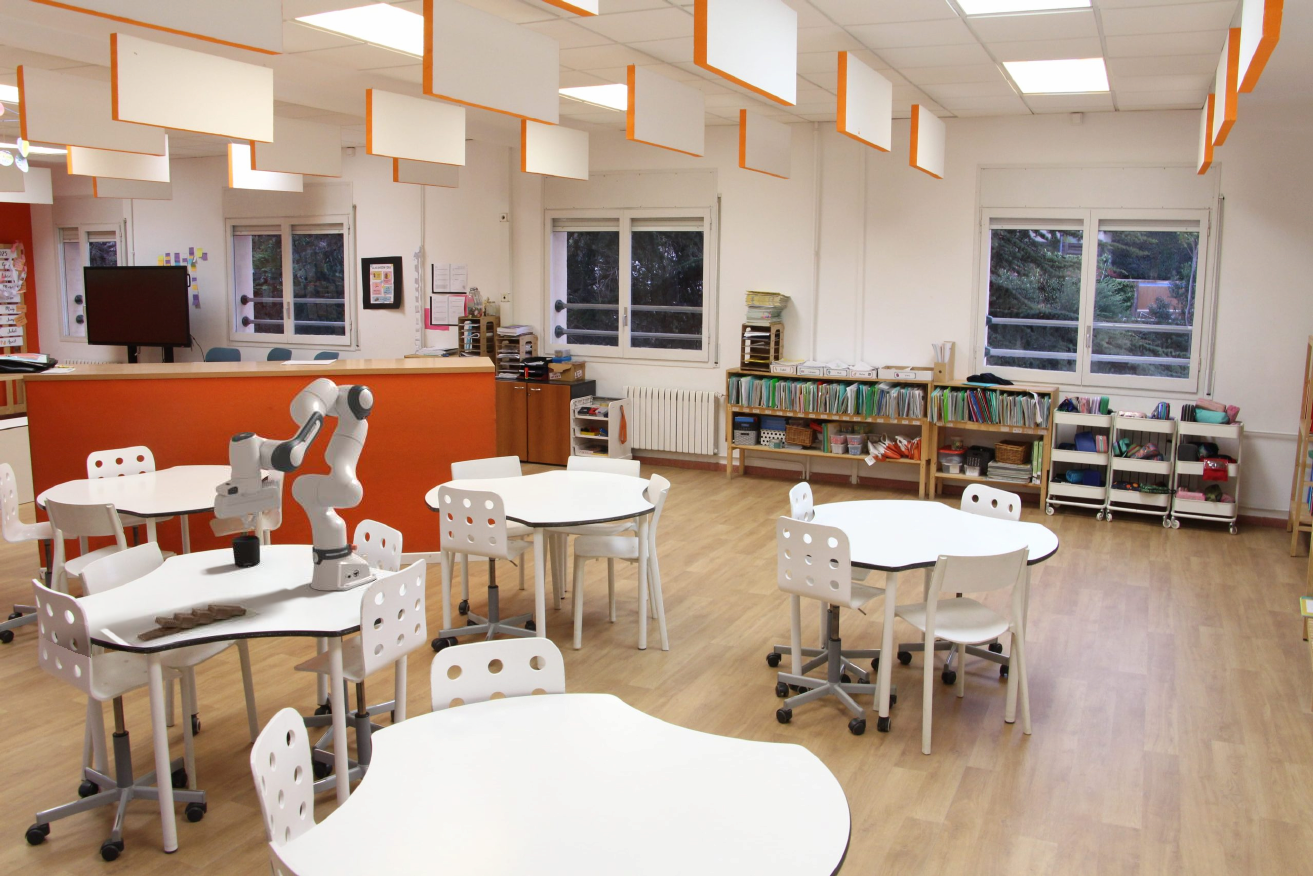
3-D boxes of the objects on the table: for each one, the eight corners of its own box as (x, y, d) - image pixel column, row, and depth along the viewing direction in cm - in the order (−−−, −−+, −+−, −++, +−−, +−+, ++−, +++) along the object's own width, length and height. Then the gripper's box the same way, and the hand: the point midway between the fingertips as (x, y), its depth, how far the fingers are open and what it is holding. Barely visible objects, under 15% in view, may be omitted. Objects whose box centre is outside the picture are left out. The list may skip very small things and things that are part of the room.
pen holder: (228, 567, 357) (226, 541, 356) (244, 559, 366) (242, 534, 365) (250, 569, 355) (249, 542, 354) (266, 561, 364) (264, 536, 363)
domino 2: (206, 614, 302) (174, 612, 294) (213, 618, 298) (181, 616, 291) (205, 619, 302) (173, 617, 294) (212, 623, 298) (179, 622, 291)
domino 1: (189, 618, 298) (156, 617, 290) (196, 622, 295) (163, 621, 287) (187, 623, 298) (154, 622, 290) (194, 628, 295) (161, 626, 287)
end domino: (172, 623, 294) (137, 635, 287) (178, 627, 291) (144, 639, 284) (173, 627, 295) (138, 640, 288) (179, 632, 291) (145, 644, 284)
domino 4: (239, 606, 309) (208, 604, 302) (246, 610, 306) (215, 608, 298) (238, 611, 309) (207, 609, 302) (245, 615, 306) (214, 613, 298)
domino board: (246, 609, 313) (246, 606, 313) (259, 616, 307) (259, 613, 307) (169, 629, 296) (169, 626, 296) (181, 637, 290) (181, 634, 290)
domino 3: (223, 610, 306) (192, 608, 298) (230, 614, 302) (199, 612, 295) (222, 615, 306) (191, 613, 298) (229, 619, 302) (197, 617, 295)
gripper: (274, 477, 313) (277, 518, 316) (210, 488, 298) (213, 531, 301) (283, 480, 309) (286, 522, 311) (219, 491, 294) (222, 535, 297)
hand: (250, 527), depth 306 cm, fingers closed
